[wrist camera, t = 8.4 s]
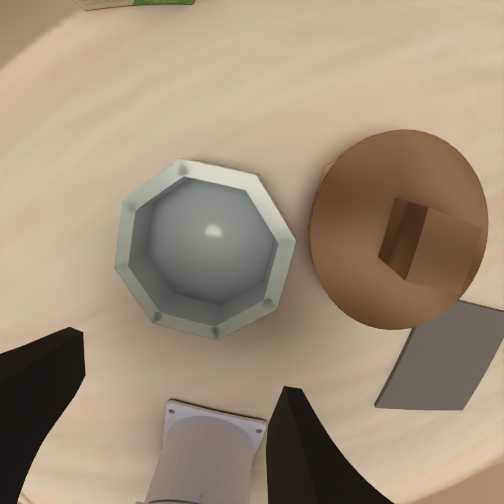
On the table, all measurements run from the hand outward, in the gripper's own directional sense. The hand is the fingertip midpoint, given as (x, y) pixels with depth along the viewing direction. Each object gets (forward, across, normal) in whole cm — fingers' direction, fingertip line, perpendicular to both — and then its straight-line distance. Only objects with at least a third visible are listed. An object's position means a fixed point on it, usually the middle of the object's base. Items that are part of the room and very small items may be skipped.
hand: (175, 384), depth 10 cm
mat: (+10, -19, +3) cm, 22 cm away
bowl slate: (+10, +1, -2) cm, 11 cm away
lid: (+7, -9, -6) cm, 13 cm away
